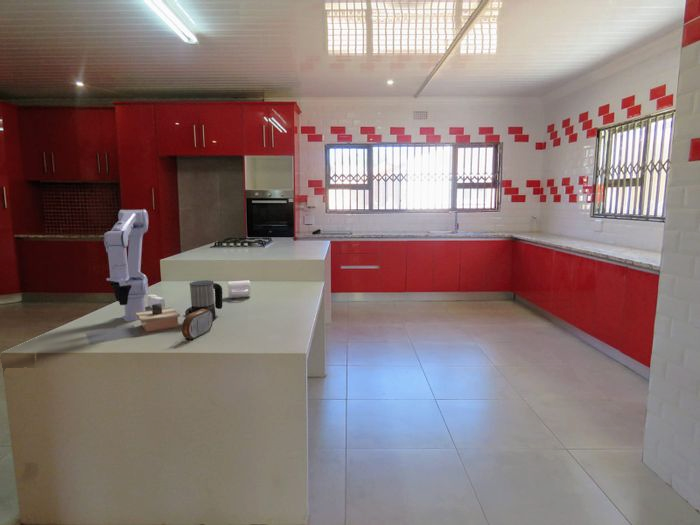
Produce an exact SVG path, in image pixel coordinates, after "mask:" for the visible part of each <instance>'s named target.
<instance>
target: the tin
mask: <svg viewBox="0 0 700 525" xmlns="http://www.w3.org/2000/svg"><path fill="white" fill-rule="evenodd" d="M182 321H183V322H182V326H181V333H182V336H183V338H185V339H191V340H194V339H197V338H199V337H201V336H203V335H205V334H206V333H208V332H209V331H210V330H211V329H212V327H213V323H214V322H213V321H214V320H213V313H212V312H211V311H210V310H206V309H201V310H198V311H196V312H193V313H191V314H189V315H185V318H184V320H182Z"/></svg>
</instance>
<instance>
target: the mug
mask: <svg viewBox="0 0 700 525" xmlns="http://www.w3.org/2000/svg"><path fill="white" fill-rule="evenodd" d="M227 291H228V299H238V298H239V299H240V298H250V297H251V281H250V280H249V279H247V280H234V281H227Z"/></svg>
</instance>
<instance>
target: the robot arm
mask: <svg viewBox="0 0 700 525" xmlns="http://www.w3.org/2000/svg"><path fill="white" fill-rule="evenodd" d="M148 213H149V212H148V211H147V210H146V209H145V208H143V209H120V210H119V211H118V213H117V215H118V216H117V217H118V221H117V222H115V224H114V225H113V227H112V228H111V230H110V231H109V230H107V232H104V235H103V243H104V247H105V251H106V253H107V257H108V268H109V277H107V278H106V281H108V282H109V285H110V286H111V288H112V290H113V293H114V297H115V299H116V301H117V302H118V303H119V306H123V307H124V315H122V317H121V318H123V319H124V321H125V322H127V323H128V322H132V321H138V320H140V319H139V318H138V317H137V316H136V315H135V313H137V312H143V311H146V301H145V296H147V294H148V293H149V282H148V280H149V279H148V277H147V275H146V274H144V273H142V271H141V265H142V250H143V246H142V245H143V238H144V237H143V236H144V234H145V233H147V232H148V229H149V214H148ZM127 247H128V250H127ZM127 251H128V252H127Z"/></svg>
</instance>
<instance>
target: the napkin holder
mask: <svg viewBox="0 0 700 525" xmlns="http://www.w3.org/2000/svg"><path fill="white" fill-rule="evenodd" d="M146 296H147V307H149V306H150V308H151V309H152V305H154V304H162V309H163V308H166V306H165V305H166V304H165V297H160V296H159V295H157V294H148V295H147V294H146Z"/></svg>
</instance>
